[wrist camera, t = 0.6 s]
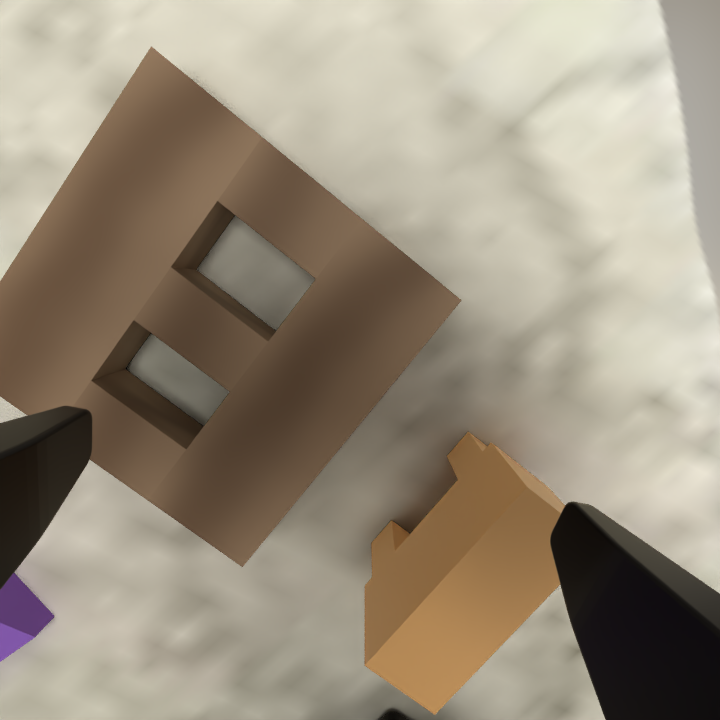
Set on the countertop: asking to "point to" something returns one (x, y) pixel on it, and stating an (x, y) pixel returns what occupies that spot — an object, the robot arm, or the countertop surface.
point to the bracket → (19, 616)
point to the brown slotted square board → (206, 311)
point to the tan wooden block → (460, 576)
